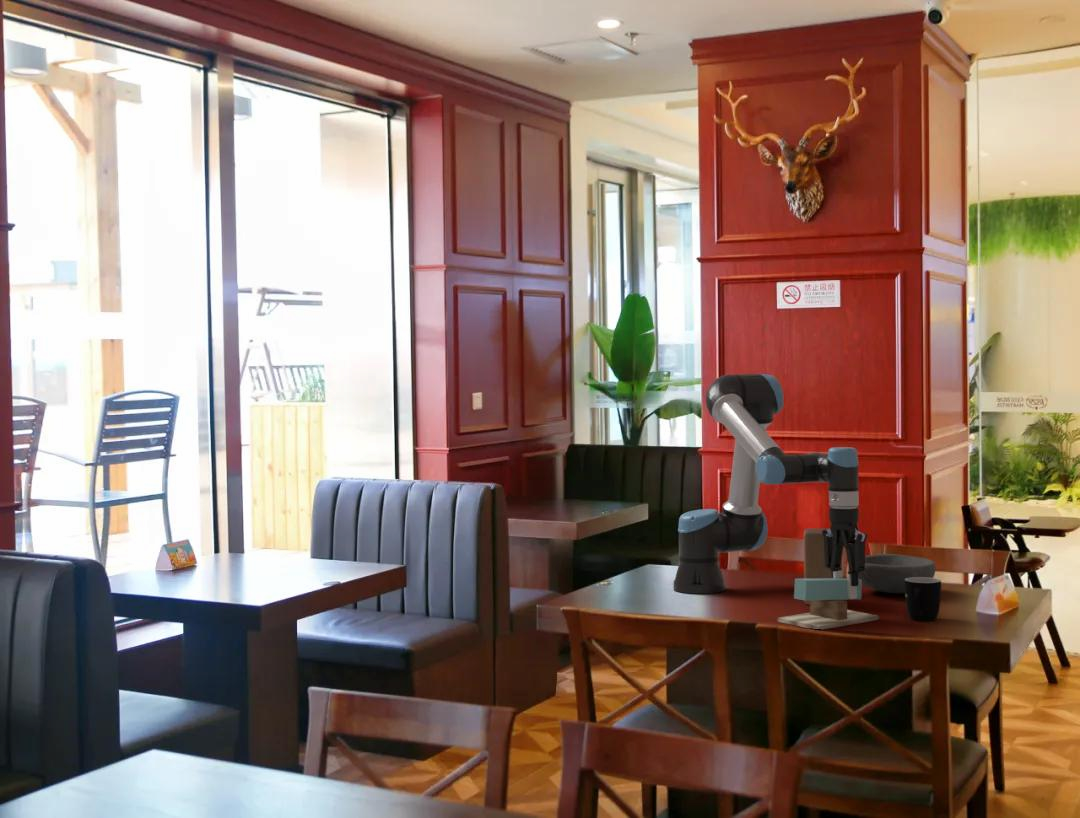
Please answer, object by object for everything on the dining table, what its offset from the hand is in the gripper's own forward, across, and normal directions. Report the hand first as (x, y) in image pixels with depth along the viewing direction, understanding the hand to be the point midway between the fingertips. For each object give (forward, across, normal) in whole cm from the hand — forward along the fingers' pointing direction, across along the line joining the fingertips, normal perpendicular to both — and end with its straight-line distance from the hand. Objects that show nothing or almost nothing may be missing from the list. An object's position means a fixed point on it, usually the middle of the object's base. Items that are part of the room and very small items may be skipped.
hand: (845, 597), depth 326 cm
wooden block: (+6, -19, +12) cm, 23 cm away
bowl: (+6, -17, +39) cm, 43 cm away
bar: (0, 0, -6) cm, 6 cm away
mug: (+6, +14, +13) cm, 20 cm away
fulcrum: (+5, 0, -6) cm, 8 cm away
